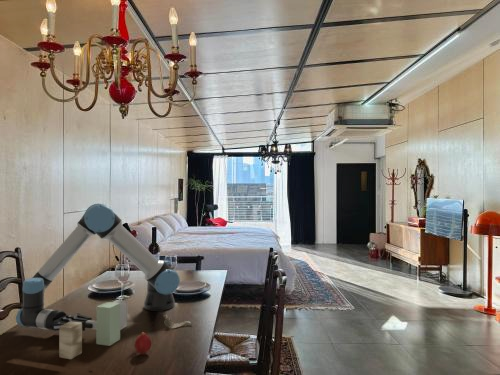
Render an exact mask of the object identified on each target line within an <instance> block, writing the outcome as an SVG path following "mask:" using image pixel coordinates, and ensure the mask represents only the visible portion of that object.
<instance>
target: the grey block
mask: <svg viewBox="0 0 500 375" xmlns="http://www.w3.org/2000/svg"><path fill="white" fill-rule="evenodd" d="M113 302H114V303H120V331H122V330H123V329H125V328H126V327H128V301H127V300H121V299H120V300H119V299H116V300H114V301H113Z"/></svg>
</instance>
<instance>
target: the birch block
mask: <svg viewBox="0 0 500 375" xmlns="http://www.w3.org/2000/svg"><path fill="white" fill-rule="evenodd" d="M58 331H59V332H58V333H59V334H58V336H59V337H58V338H59V340H58V341H59V344H58V345H59V346H58V347H59V348H58V355H59V356H58V358H62V359H68V360H73V359H74V358H75V357H78V356H79V355H81V354H82V353H83V331H82V323H81V322H73V321H70V322H68V323H66V324H63V325H61V326H59V330H58Z"/></svg>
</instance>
